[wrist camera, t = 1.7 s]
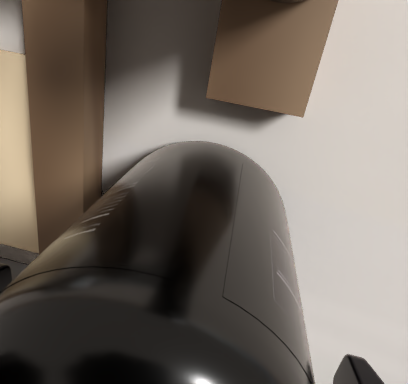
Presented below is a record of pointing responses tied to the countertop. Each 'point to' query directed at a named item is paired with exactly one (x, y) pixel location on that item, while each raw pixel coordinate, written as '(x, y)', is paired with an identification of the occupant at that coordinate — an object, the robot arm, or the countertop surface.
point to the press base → (94, 99)
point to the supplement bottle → (164, 283)
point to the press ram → (286, 1)
